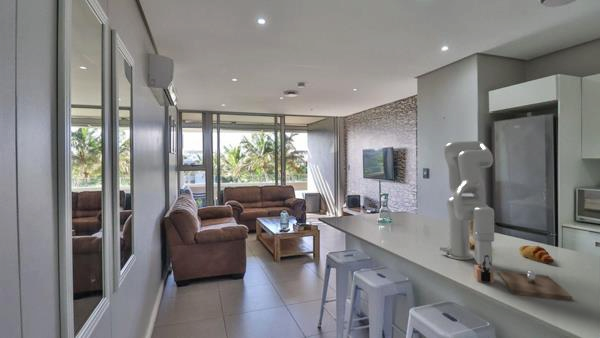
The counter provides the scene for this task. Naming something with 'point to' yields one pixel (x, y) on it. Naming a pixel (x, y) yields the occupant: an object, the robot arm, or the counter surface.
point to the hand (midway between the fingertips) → (483, 277)
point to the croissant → (536, 253)
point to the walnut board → (534, 286)
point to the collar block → (478, 273)
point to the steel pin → (531, 277)
